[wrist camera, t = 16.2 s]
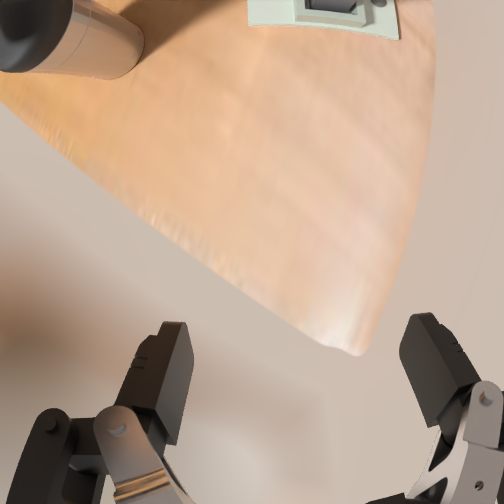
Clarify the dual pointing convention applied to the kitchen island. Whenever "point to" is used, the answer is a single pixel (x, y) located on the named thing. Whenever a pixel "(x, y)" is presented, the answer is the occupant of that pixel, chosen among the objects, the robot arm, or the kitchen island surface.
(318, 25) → the bracket
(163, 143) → the kitchen island surface
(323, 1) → the tall grey pillar
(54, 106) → the kitchen island surface
